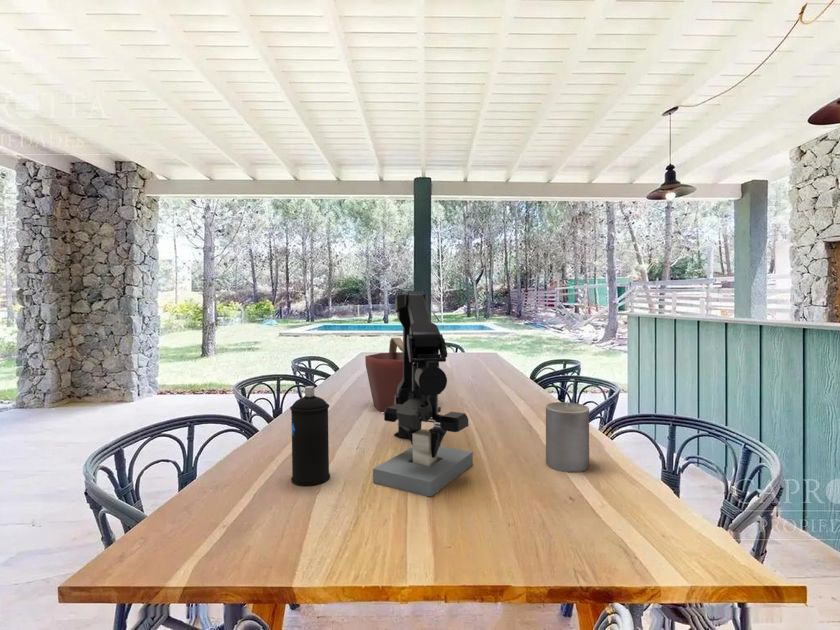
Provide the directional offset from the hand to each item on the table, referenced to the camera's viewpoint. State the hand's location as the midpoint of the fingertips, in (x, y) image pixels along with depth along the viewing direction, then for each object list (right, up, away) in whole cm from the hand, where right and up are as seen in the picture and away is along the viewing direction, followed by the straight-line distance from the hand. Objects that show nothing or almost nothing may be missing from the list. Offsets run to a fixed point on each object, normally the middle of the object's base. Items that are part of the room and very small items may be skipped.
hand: (425, 455), depth 101 cm
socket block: (0, -4, 0) cm, 4 cm away
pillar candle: (+33, -4, +5) cm, 34 cm away
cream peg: (0, -3, 0) cm, 3 cm away
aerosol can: (-25, -4, -3) cm, 25 cm away
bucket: (-9, -2, +60) cm, 61 cm away
